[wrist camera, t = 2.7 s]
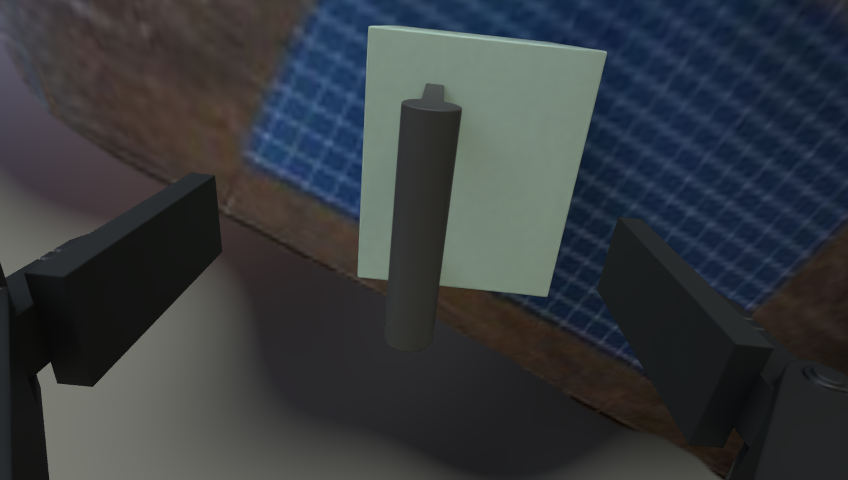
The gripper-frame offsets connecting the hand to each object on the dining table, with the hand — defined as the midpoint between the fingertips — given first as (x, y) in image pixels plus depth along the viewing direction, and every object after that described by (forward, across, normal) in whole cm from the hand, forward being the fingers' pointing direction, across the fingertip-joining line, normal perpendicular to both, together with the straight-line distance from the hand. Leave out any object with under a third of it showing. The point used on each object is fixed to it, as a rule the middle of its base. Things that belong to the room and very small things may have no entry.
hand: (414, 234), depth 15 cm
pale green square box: (+9, -7, 0) cm, 12 cm away
